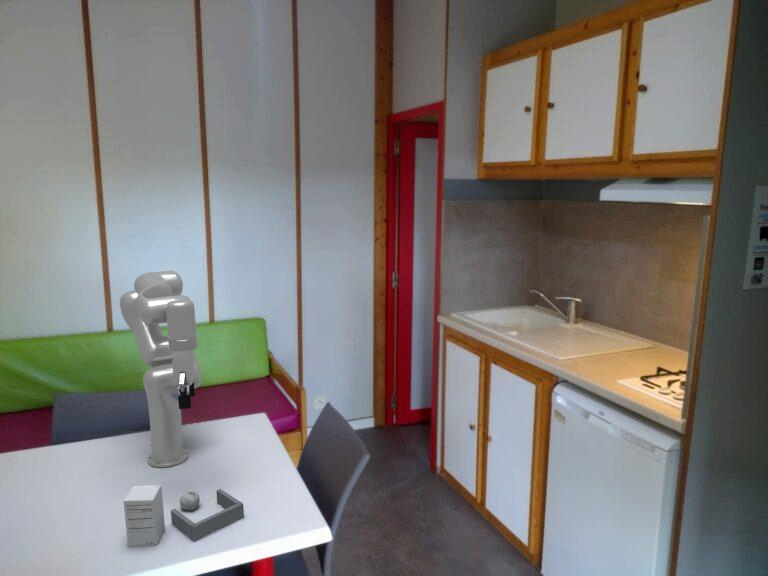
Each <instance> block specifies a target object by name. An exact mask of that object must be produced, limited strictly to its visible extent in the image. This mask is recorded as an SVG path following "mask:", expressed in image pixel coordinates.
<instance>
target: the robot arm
mask: <svg viewBox="0 0 768 576" xmlns="http://www.w3.org/2000/svg"><path fill="white" fill-rule="evenodd" d="M133 287H134V289H133V290H129V291H127V292H125V293H123V294H121V297H120V298H119V299H120V300H119V308H120V312H121V315H122V317H123V321H124V322H125V324H126V325H127V326H128V328H129V329H130V331H131V332H132V333H133V336H134V337H135V342H136V346H137V349H138V352H139V356H140V358H141V361H142V363H143V364H144V366H146V367H148V369H147V370H146V371H145V372H144V374H143V377H142V381H143V386H144V390H145V393H146V398H147V406H148V416H149V429H150V442H151V443H150V447H151V453H150V454H149V455H148V457H147V463H148V465H150V466H151V467H154V468H170V467H174V466H177V465H179V464H180V465H181V464H182V463H184V462H185V461H186V460H187V459H188V458H189V455H190V454H189V450H188V449H187V448H185V447H184V441H183V439H184V438H183V425H182V424H183V423H182V412H181V410H187V409H191V408H192V398H193V397H195V396H196V391H195V389H197V388H198V387H200V385H201V384H202V378H203V377H202V371H201V369H200V365H199V363H198V360H197V356H196V355H195V352H194V351H195V350H197V349H198V339H197V326H196V313H195V312H196V311H195V303H194V302H193V301H192V300H191V299H190V297H189V296H187V295H183V294H182V293H183V289H184V288H183V287H184V284H183V280H182V277H181V275H180V274H179V273H178V272H176V271H174V270H165V271H164V270H163V271H153V272H145V273H142V274H139V275H138V276H137V277H136V278H135V280H134V284H133ZM160 324H161V325H162V324H166V326H167V327H166V328H167V329H166V330H167V335H164V334H163V331H162V328H161V326H160ZM173 394H177V399H178V400H177V399H175V398H174V397H173V396H172V395H173Z"/></svg>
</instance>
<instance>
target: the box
mask: <svg viewBox="0 0 768 576" xmlns="http://www.w3.org/2000/svg"><path fill="white" fill-rule="evenodd" d="M216 503H218V504H217V505H219V506H220V505H221V508H223V507H224V509H223V510H221V511H218V512H216V513H215V514H211V515H210V516H208V517H205V518H203V519H201V520H199V521H197V522H194V521H192V520H191V519H189V518H188V517H187V516H186V515H184V514H183V513H182V512H180V511H179V510H178V509H176V508H173V509H171V510H170V518H171V520H170V521H171V525H172V524H173V525H172V526H173V527H175V528H176V529H177V530H178V531H180V532H181V533H182V534H183V535H184V536H185V537H187V536H188V537H187V538H188V539H190V540H191V541H192V540H193V541H192V542H196V541H199V540H201V539H202V537H203V538H205V537H206V535H207V536H209V535H210V533H211V534H213V533H214V532H213V531H215V532H217V531H218V529H219V530H221V529H222V527H223V528H225V527H227V526H229V525H231V524H232V523H235V522H237V521H239V520H241V519H243V518H245V513H244V511H245V510H244V503H243V502H242V501H240V500H239V499H237V498H236V497H234V496H233V495H231V494H229V493H228V492H226V491H224V490H223V489H222V488H218V489H216ZM236 520H237V521H236ZM224 526H225V527H224ZM220 528H221V529H220ZM216 530H217V531H216ZM212 532H213V533H212ZM208 534H209V535H208ZM204 536H205V537H204ZM200 538H201V539H200Z"/></svg>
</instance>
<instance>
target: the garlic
mask: <svg viewBox="0 0 768 576" xmlns="http://www.w3.org/2000/svg"><path fill="white" fill-rule="evenodd" d="M200 501H201V498H200V495H199V492H198V491H193V490H188V491H185V492H184V493H182V494H181V496H180V497H179V505H180V507H181V508H182V510H184V511H185V510H186V511H193V510H195V509H196V508H197V507H198V506H199V505H200Z"/></svg>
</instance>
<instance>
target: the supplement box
mask: <svg viewBox="0 0 768 576" xmlns="http://www.w3.org/2000/svg"><path fill="white" fill-rule="evenodd" d="M123 509H124V510H123V511H124V521H125V530H126V539H127V547H150V546H158V545H159V543H160V540H161V537H162V535H163V534H164V532H165V529H166V526H165V525H166V524H165V512H164V511H165V510H164V500H163V490H162V485H161V484H151V485H149V484H148V485H134V486H132V487H131V489H130V490H129V492H128V494H127V495H126V497H125V498H124V500H123Z"/></svg>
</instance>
